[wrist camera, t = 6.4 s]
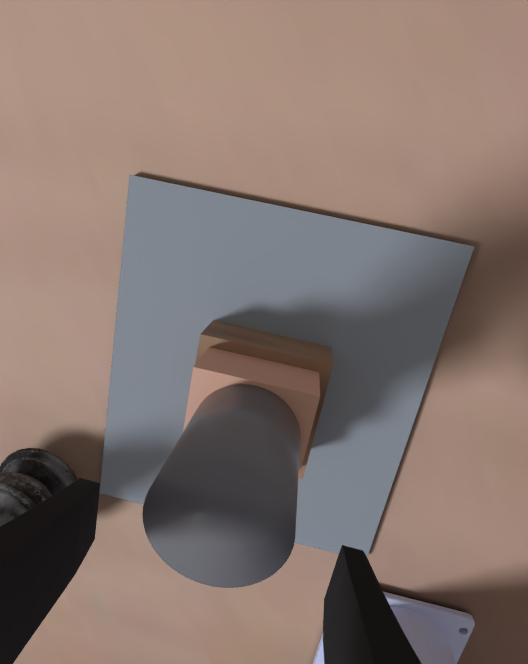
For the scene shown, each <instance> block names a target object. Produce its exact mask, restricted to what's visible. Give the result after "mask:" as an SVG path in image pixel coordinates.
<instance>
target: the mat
mask: <svg viewBox="0 0 528 664" xmlns="http://www.w3.org/2000/svg"><path fill="white" fill-rule="evenodd" d="M474 247H475V246H470V245H465V244H461V243H456V242H451V241H446V240H441V239H437V238H432V237H427V236H422V235H417V234H412V233H408V232H403V231H398V230H393V229H388V228H384V227H379V226H374V225H369V224H364V223H359V222H355V221H350V220H345V219H340V218H335V217H331V216H326V215H321V214H316V213H311V212H307V211H302V210H297V209H292V208H287V207H282V206H278V205H273V204H268V203H263V202H258V201H254V200H249V199H244V198H239V197H234V196H229V195H225V194H220V193H215V192H210V191H205V190H201V189H196V188H191V187H186V186H181V185H177V184H172V183H167V182H162V181H157V180H152V179H148V178H143V177H138V176H133V175H129V186H128V197H127V207H126V218H125V228H124V239H123V249H122V260H121V270H120V281H119V292H118V302H117V313H116V323H115V334H114V344H113V355H112V365H111V376H110V387H109V397H108V408H107V418H106V429H105V439H104V450H103V460H102V471H101V481H100V492H99V493H100V494H104V495H108V496H112V497H116V498H120V499H124V500H128V501H132V502H136V503H140V504H144V501H145V497H146V495H147V492H148V490H149V488H150V487H151V485H152V483H153V482H154V480H155V478H156V477H157V475H158V473H159V472H160V470H161V468H162V467H163V465H164V463H165V462H166V460H167V458H168V457H169V455H170V453H171V452H172V450H173V448H174V447H175V445H176V443H177V441H178V440H179V438H180V436H181V435H182V433H183V428H184V422H185V416H186V409H187V403H188V397H189V390H190V384H191V378H192V372H193V367H194V365H195V363H196V356H197V350H198V344H199V338H200V334H201V333H202V332H203V331H204V329H205V328H206V327H207V326H208V325H209V324H210V323H211V322H212V321H213V320H214V321H219V322H223V323H228V324H232V325H236V326H241V327H245V328H250V329H254V330H259V331H263V332H268V333H272V334H276V335H281V336H285V337H290V338H294V339H299V340H303V341H308V342H312V343H316V344H321V345H325V346H330V347H331V350H332V357H333V364H334V365H333V368H332V372H331V376H330V380H329V383H328V387H327V391H326V394H325V398H324V402H323V406H322V409H321V413H320V417H319V421H318V424H317V428H316V432H315V436H314V439H313V443H312V447H311V451H310V454H309V458H308V462H307V466H306V469H305V473H304V477H303V479H298V495H297V514H296V533H295V541H294V543H298V544H302V545H306V546H310V547H314V548H318V549H322V550H326V551H330V552H334V553H338V554H339V552H340V549H341V546H342V545H344V546H348V547H352V548H355V549H359V550H363V551H364V553H365V554H366V556H368V553H369V551H370V548H371V545H372V542H373V539H374V536H375V533H376V530H377V527H378V524H379V522H380V519H381V516H382V513H383V510H384V507H385V504H386V501H387V498H388V496H389V493H390V490H391V487H392V484H393V481H394V478H395V475H396V472H397V469H398V467H399V464H400V461H401V458H402V455H403V452H404V449H405V446H406V443H407V441H408V438H409V435H410V432H411V429H412V426H413V423H414V420H415V417H416V414H417V412H418V409H419V406H420V403H421V400H422V397H423V394H424V391H425V388H426V386H427V383H428V380H429V377H430V374H431V371H432V368H433V365H434V362H435V359H436V357H437V354H438V351H439V348H440V345H441V342H442V339H443V336H444V333H445V331H446V328H447V325H448V322H449V319H450V316H451V313H452V310H453V307H454V304H455V302H456V299H457V296H458V293H459V290H460V287H461V284H462V281H463V278H464V276H465V273H466V270H467V267H468V264H469V261H470V258H471V255H472V252H473V250H474Z"/></svg>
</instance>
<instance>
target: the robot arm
mask: <svg viewBox="0 0 528 664" xmlns="http://www.w3.org/2000/svg"><path fill="white" fill-rule="evenodd" d="M99 491H100V483H97V482H93V481H89V480H86V479H82V478H80V479H79V480H77V481H75V482H73V483H72V484H70V485H68V486H67V487H65V488H64V489H62V490H60V491H59V492H57V493H55V494H54V495H52V496H51V497H49V498H47V499H46V500H44V501H43V502H41V503H39V504H38V505H36V506H34V507H33V508H31V509H29V510H28V511H26V512H24V513H23V514H21V515H19V516H17V517H16V518H14V519H12V520H11V521H9V522H7V523H6V524H4V525H2V526H0V664H13V663H14V661H15V660H16V658H17V657H18V655H19V654H20V652H21V651H22V649H23V648H24V647H25V645H26V644H27V642H28V641H29V640H30V638H31V637H32V635H33V634H34V632H35V631H36V630H37V628H38V627H39V625H40V624H41V622H42V621H43V620H44V618H45V617H46V615H47V614H48V613H49V611H50V610H51V608H52V607H53V605H54V604H55V603H56V601H57V600H58V598H59V597H60V595H61V594H62V592H63V591H64V590H65V588H66V587H67V585H68V584H69V582H70V581H71V579H72V578H73V577H74V575H75V574H76V572H77V570H78V568H79V566H80V565H81V563H82V561H83V559H84V558H85V556H86V554H87V552H88V550H89V548H90V546H91V545H92V543H93V541H94V539H95V530H96V520H97V510H98V501H99ZM474 627H475V622H474V620H473V617H472V616H471V615H470V614H468V613H465V612H461V611H457V610H453V609H450V608H446V607H442V606H438V605H434V604H430V603H426V602H422V601H418V600H414V599H410V598H407V597H403V596H399V595H395V594H391V593H387V592H383V591H382V589H381V587H380V584H379V582H378V580H377V578H376V576H375V574H374V572H373V570H372V567H371V565H370V563H369V561H368V559H367V556H366V554H365V553H364V551H363V550H359V549H355V548H352V547H348V546H344V545H342V546H341V549H340V552H339V556H338V559H337V562H336V565H335V568H334V571H333V574H332V577H331V580H330V583H329V586H328V589H327V593H326V596H325V599H324V619H323V634H322V637H321V640H320V643H319V646H318V649H317V652H316V655H315V658H314V661H313V664H457V662H458V660H459V658H460V656H461V654H462V652H463V650H464V648H465V646H466V643H467V641H468V639H469V637H470V635H471V633H472V631H473V629H474Z"/></svg>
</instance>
